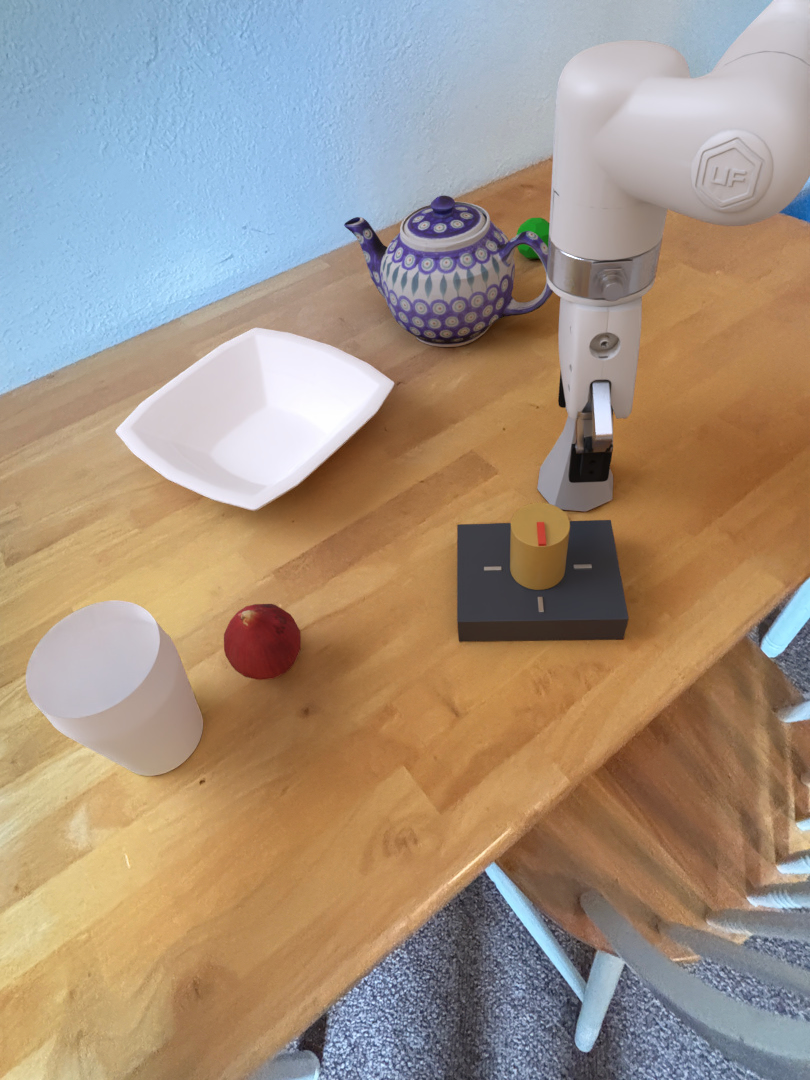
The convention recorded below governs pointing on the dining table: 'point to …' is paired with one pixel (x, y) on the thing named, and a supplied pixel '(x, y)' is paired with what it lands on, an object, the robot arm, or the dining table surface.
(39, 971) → the dining table surface
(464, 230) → the teapot
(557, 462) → the flask
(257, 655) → the onion
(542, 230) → the polyhedron
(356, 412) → the bowl
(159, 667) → the cup
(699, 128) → the robot arm
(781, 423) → the dining table surface
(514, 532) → the yellow dial knob
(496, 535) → the panel
